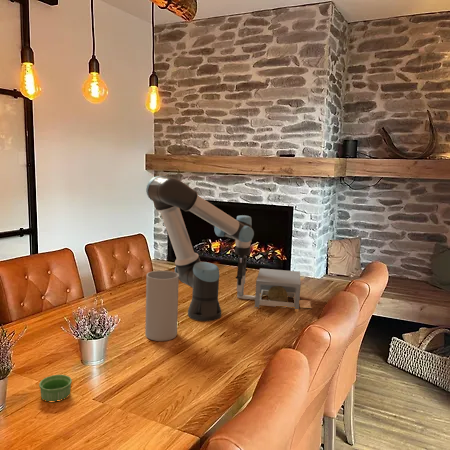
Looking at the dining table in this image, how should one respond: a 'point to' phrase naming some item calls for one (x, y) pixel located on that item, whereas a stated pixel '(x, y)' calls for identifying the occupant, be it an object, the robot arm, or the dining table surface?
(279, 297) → the rock
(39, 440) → the dining table surface
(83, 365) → the dining table surface
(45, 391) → the ramekin
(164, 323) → the cylinder vase
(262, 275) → the tunnel
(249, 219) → the robot arm
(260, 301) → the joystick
